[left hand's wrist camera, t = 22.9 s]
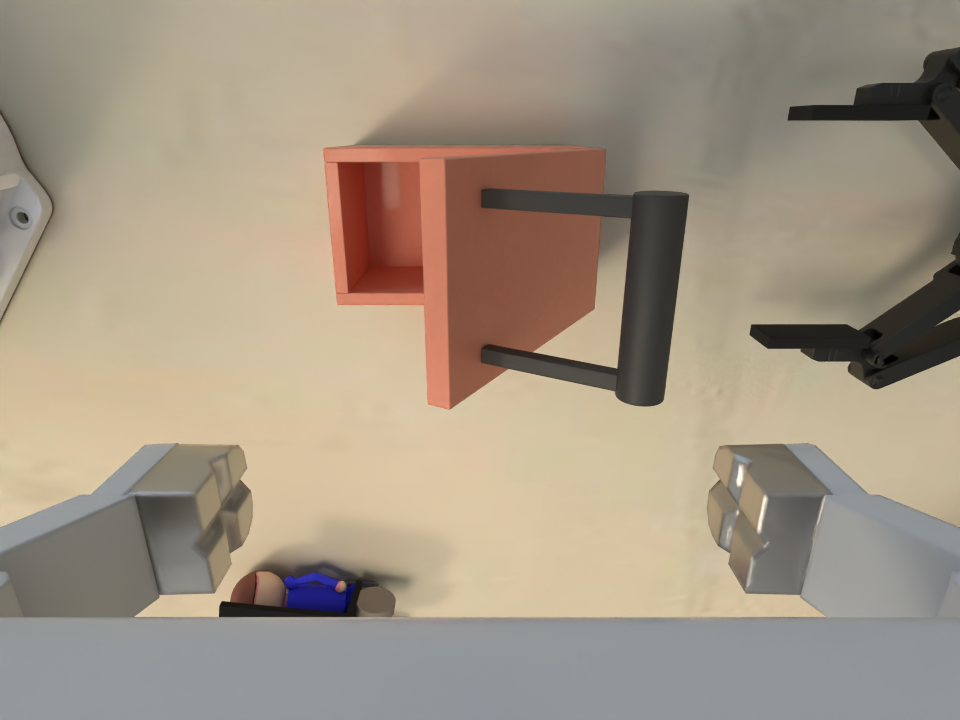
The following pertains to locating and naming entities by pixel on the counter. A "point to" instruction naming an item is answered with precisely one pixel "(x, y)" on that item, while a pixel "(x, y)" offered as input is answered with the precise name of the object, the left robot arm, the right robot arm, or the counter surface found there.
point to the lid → (540, 271)
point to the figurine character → (306, 597)
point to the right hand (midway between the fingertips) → (777, 232)
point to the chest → (385, 217)
